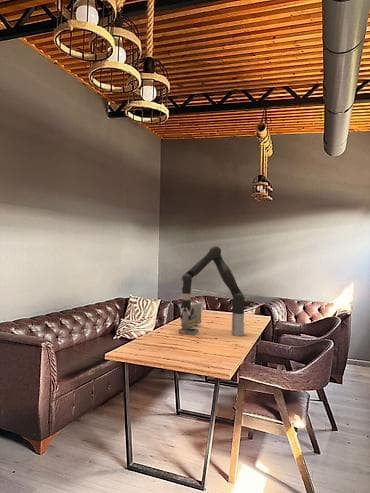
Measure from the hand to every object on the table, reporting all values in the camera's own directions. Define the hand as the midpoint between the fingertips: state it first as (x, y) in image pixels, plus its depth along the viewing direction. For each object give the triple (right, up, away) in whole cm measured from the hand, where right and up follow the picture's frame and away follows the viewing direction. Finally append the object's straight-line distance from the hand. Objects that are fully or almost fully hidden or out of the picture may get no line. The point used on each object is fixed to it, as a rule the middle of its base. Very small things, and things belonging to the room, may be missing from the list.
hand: (185, 319), depth 313 cm
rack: (+2, -11, -1) cm, 11 cm away
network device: (+5, -11, +21) cm, 24 cm away
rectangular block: (0, -9, 0) cm, 9 cm away
